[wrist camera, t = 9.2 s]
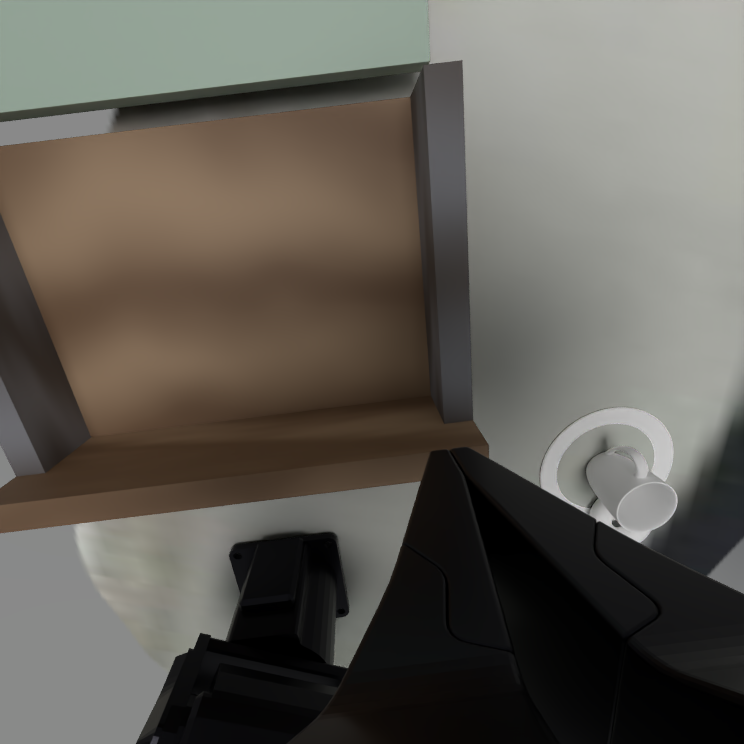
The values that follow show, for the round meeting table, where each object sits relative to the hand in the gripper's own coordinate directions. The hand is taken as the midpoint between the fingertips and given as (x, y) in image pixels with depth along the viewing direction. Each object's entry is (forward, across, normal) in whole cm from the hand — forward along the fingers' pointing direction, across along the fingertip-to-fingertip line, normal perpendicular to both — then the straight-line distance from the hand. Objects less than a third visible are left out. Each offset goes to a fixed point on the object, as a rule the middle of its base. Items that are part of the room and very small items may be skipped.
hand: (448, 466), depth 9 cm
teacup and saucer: (+13, -9, +12) cm, 20 cm away
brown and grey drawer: (+12, +7, -3) cm, 14 cm away
